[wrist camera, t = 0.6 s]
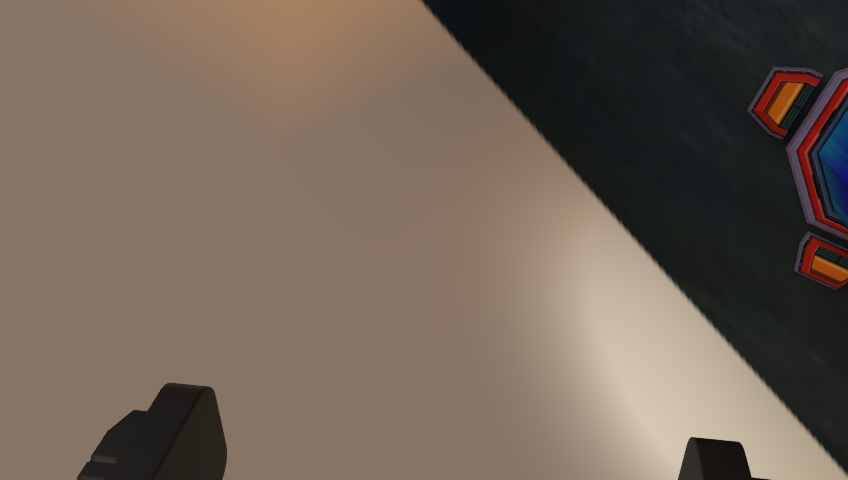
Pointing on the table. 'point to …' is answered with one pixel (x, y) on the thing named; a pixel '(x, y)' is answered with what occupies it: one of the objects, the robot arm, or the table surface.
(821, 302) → the table surface
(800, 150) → the fantasy tower
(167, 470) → the robot arm
